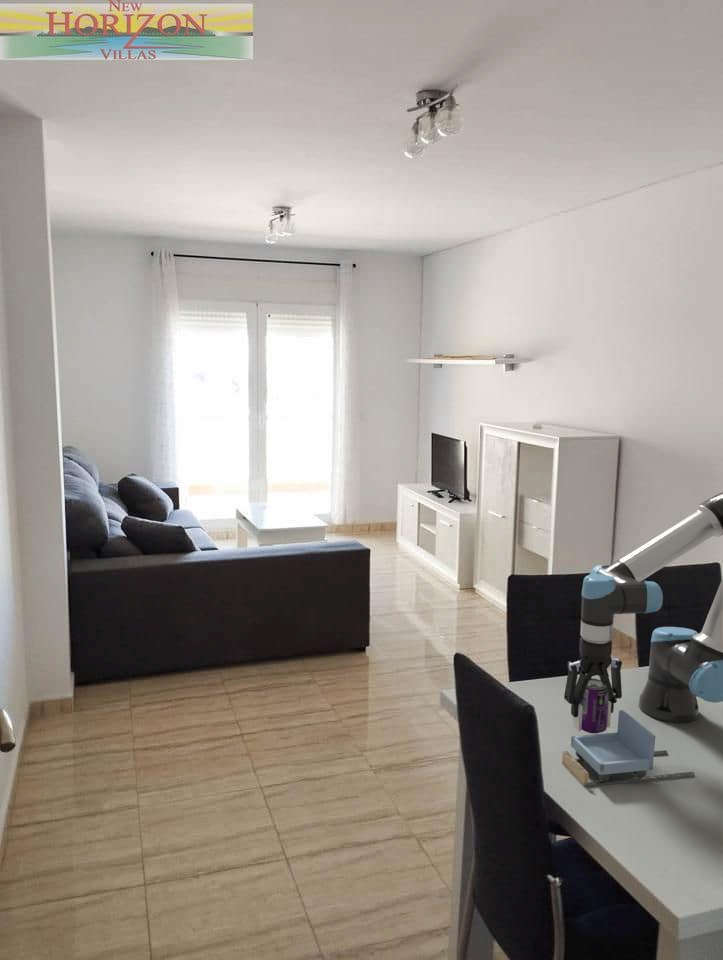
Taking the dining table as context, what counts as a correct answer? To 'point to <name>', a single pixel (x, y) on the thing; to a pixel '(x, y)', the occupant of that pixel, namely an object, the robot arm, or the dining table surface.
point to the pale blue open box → (618, 749)
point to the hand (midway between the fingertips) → (591, 726)
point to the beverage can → (594, 707)
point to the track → (583, 779)
